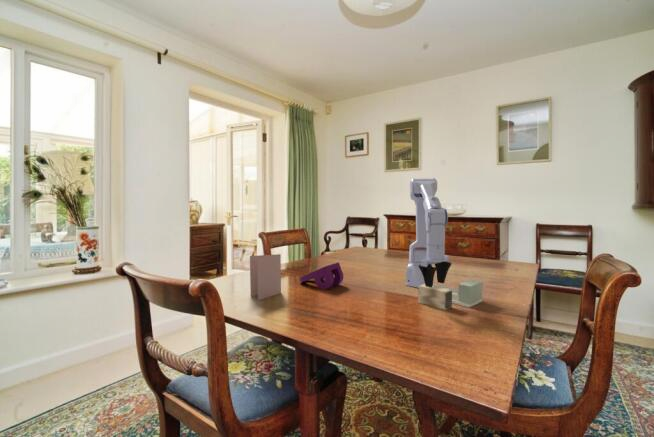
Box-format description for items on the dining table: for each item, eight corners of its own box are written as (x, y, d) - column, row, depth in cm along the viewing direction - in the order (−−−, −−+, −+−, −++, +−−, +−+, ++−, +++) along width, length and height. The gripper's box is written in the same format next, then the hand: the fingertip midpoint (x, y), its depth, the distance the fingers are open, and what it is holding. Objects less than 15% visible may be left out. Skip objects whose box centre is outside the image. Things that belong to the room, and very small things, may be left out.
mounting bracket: (301, 298, 134) (333, 286, 124) (295, 279, 136) (325, 266, 126) (315, 293, 142) (346, 281, 132) (309, 275, 143) (338, 262, 133)
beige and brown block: (418, 302, 110) (418, 285, 110) (424, 300, 113) (424, 283, 113) (445, 310, 102) (446, 292, 102) (452, 307, 105) (452, 290, 105)
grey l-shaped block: (423, 295, 118) (424, 277, 117) (438, 290, 124) (438, 273, 124) (469, 307, 105) (469, 286, 104) (482, 301, 111) (482, 281, 111)
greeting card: (280, 292, 123) (280, 253, 122) (284, 297, 116) (283, 257, 115) (250, 295, 120) (249, 255, 119) (252, 301, 112) (251, 259, 112)
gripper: (434, 248, 99) (434, 291, 99) (457, 244, 108) (456, 283, 109) (415, 245, 104) (414, 286, 105) (438, 242, 113) (438, 279, 114)
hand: (435, 284), depth 107 cm, fingers open, 7 cm apart
